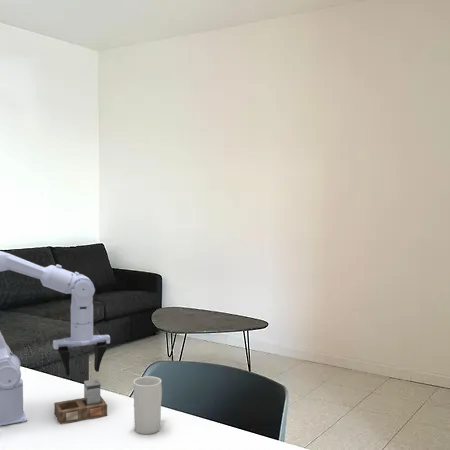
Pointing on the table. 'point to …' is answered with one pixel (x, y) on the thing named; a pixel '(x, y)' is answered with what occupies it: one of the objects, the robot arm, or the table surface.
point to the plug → (91, 392)
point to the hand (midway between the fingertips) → (82, 372)
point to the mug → (147, 404)
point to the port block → (78, 410)
